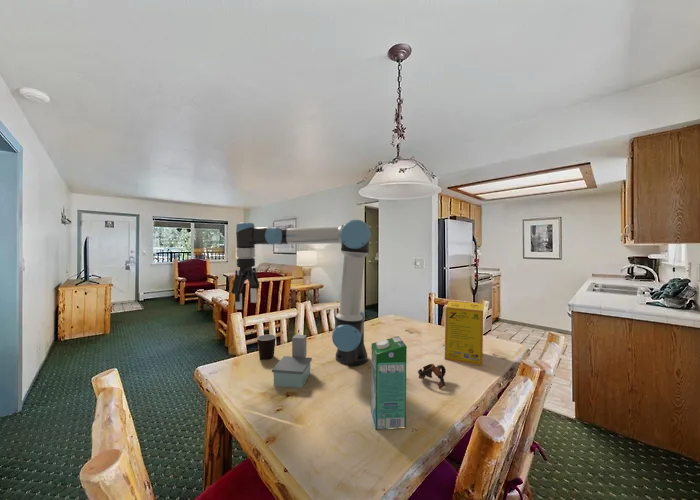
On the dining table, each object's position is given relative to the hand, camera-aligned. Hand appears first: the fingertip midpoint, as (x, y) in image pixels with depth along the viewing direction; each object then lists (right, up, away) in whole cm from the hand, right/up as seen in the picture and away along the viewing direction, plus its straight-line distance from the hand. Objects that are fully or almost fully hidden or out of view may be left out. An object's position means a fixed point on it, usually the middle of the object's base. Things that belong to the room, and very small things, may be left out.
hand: (246, 305), depth 126 cm
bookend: (+23, -21, -11) cm, 34 cm away
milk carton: (+58, -29, -38) cm, 74 cm away
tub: (+23, -27, -13) cm, 38 cm away
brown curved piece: (+79, -28, -13) cm, 85 cm away
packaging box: (+102, -27, +13) cm, 106 cm away
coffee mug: (+7, -27, +11) cm, 30 cm away
